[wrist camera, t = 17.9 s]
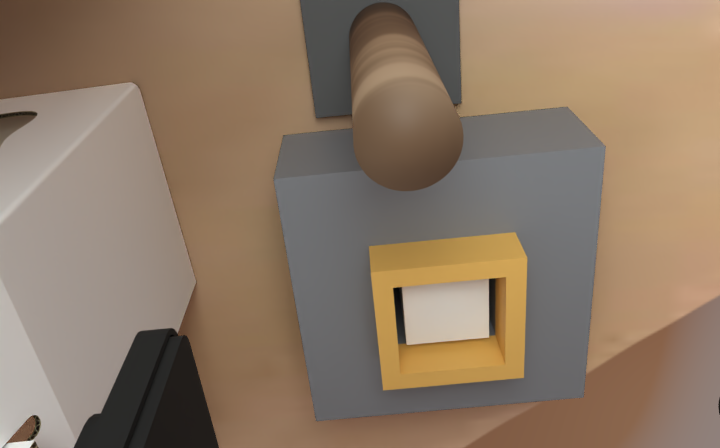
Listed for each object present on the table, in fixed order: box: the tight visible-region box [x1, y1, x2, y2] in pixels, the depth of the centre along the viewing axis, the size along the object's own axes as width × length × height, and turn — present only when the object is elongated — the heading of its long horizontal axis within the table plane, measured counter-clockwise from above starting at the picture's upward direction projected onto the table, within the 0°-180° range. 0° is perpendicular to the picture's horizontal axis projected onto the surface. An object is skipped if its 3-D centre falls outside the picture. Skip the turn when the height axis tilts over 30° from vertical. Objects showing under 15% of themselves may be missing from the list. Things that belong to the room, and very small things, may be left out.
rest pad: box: [300, 0, 461, 118], centre depth 34 cm, size 8×8×1 cm
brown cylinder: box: [349, 2, 464, 191], centre depth 27 cm, size 4×4×15 cm
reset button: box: [399, 279, 489, 345], centre depth 37 cm, size 4×4×6 cm
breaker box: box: [274, 107, 606, 421], centre depth 37 cm, size 16×16×8 cm
